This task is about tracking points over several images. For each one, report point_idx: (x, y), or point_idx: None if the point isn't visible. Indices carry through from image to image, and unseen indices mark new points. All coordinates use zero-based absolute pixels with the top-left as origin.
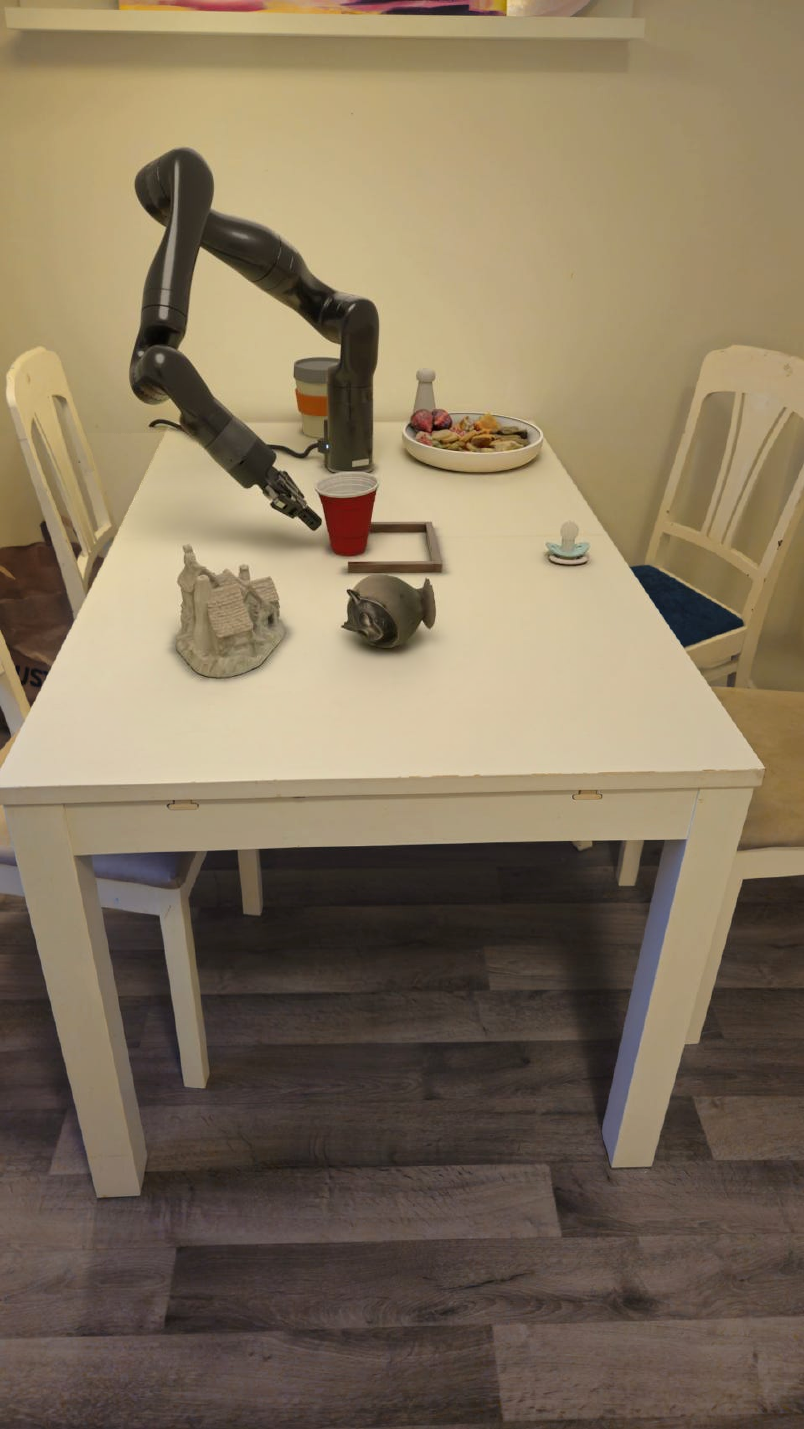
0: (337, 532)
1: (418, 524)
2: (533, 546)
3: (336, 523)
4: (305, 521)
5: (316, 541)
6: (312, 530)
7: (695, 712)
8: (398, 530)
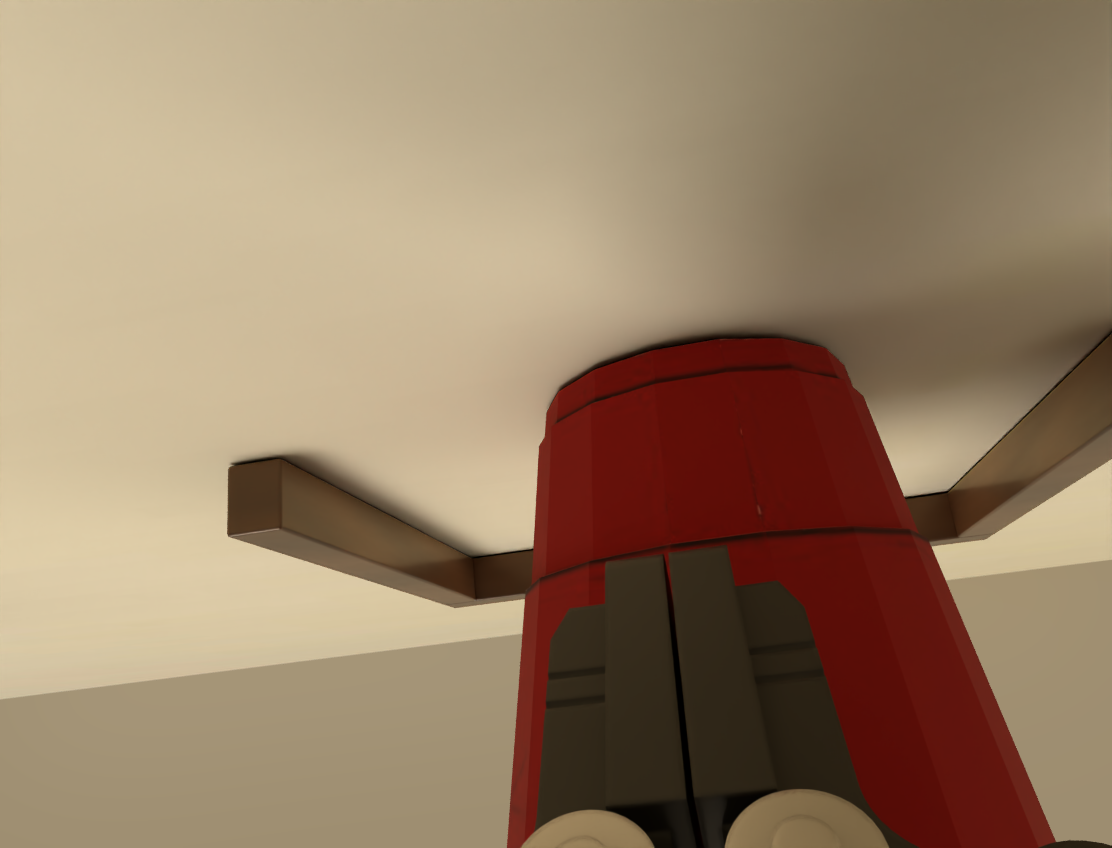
0: (532, 638)
1: (967, 527)
2: None
3: (525, 747)
4: (542, 743)
5: (955, 210)
6: (607, 564)
7: (8, 695)
8: (986, 466)
